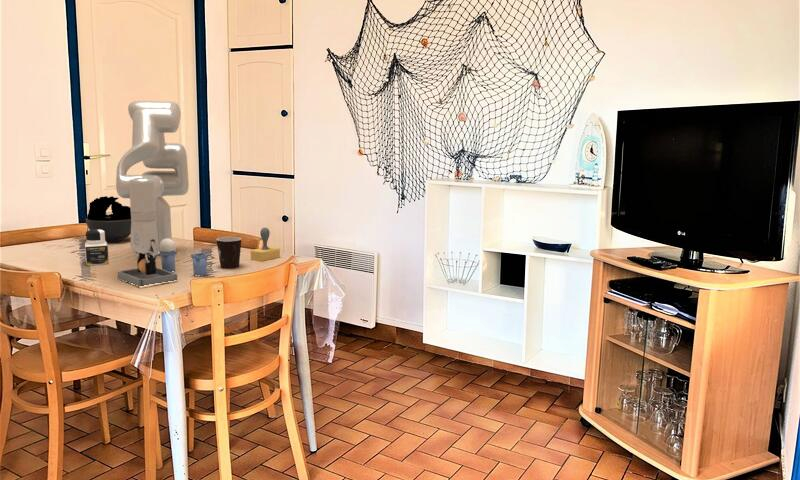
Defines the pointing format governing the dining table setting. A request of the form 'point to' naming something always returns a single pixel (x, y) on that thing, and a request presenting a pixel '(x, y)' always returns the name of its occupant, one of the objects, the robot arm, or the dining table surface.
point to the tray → (146, 277)
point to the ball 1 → (142, 265)
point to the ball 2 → (167, 245)
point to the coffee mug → (229, 252)
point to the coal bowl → (110, 218)
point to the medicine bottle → (96, 248)
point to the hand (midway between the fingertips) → (146, 272)
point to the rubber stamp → (265, 249)
